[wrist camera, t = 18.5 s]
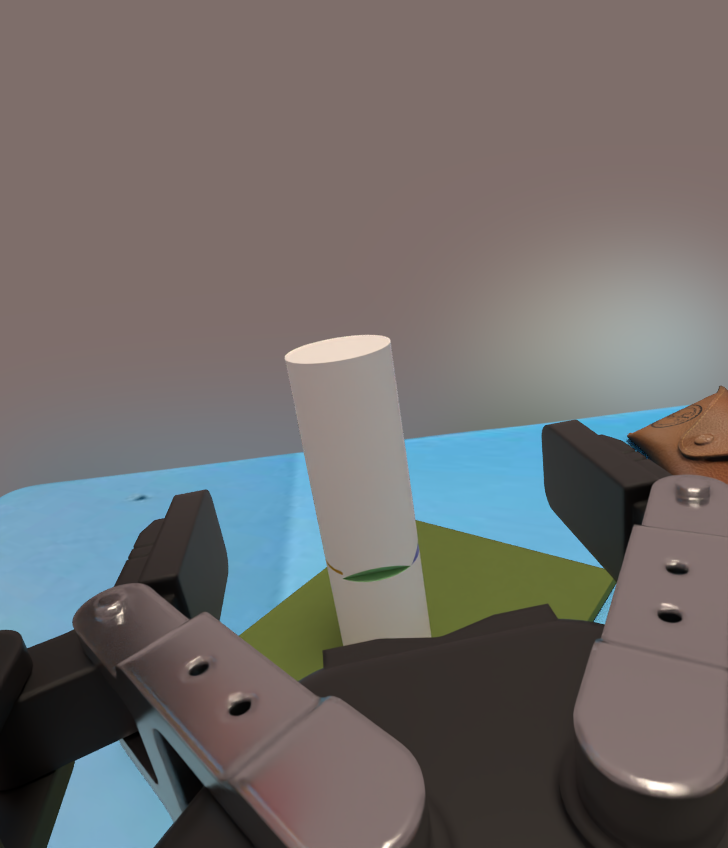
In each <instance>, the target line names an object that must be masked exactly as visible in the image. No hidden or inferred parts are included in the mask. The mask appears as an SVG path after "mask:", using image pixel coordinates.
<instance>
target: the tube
mask: <svg viewBox="0 0 728 848" xmlns="http://www.w3.org/2000/svg"><path fill="white" fill-rule="evenodd" d="M285 362H286V367H287V372H288V377H289V382H290V387H291V392H292V396H293V401H294V406H295V411H296V416H297V421H298V426H299V431H300V436H301V441H302V446H303V450H304V456H305V460H306V465H307V470H308V475H309V480H310V485H311V490H312V495H313V500H314V505H315V510H316V515H317V520H318V524H319V529H320V534H321V539H322V544H323V549H324V554H325V558H326V563H327V568H328V573H329V578H330V583H331V588H332V593H333V598H334V603H335V607H336V612H337V617H338V622H339V627H340V632H341V637H342V642H343V646H346V645H350V644H355V643H360V642H365V641H370V640H374V639H383V638H426V637H431V630H430V623H429V616H428V609H427V602H426V594H425V587H424V580H423V573H422V565H421V558H420V551H419V545H418V535H417V528H416V521H415V514H414V507H413V499H412V492H411V485H410V478H409V471H408V464H407V457H406V449H405V442H404V435H403V428H402V421H401V414H400V407H399V400H398V393H397V386H396V378H395V371H394V364H393V357H392V350H391V343H390V339H389V338H387V337H384V336H379V335H356V336H347V337H339V338H333V339H328V340H323V341H319V342H315V343H311V344H308V345H305V346H302V347H299V348H297V349H294V350H292V351H291V352H289V353H288V354H286V356H285Z"/></svg>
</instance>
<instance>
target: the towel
mask: <svg viewBox="0 0 728 848" xmlns="http://www.w3.org/2000/svg"><path fill="white" fill-rule="evenodd" d="M415 521H416V528H417V535H418V545H419V551H420V558H421V565H422V573H423V580H424V587H425V594H426V602H427V609H428V616H429V623H430V630H431V637H440V636H444V635H446V634H449V633H451V632H454V631H456V630H458V629H461V628H463V627H465V626H468V625H470V624H473V623H475V622H477V621H480V620H482V619H484V618H487V617H489V616H492V615H494V614H499V613H504V612H509V611H514V610H518V609H523V608H528V607H533V606H538V605H543V604H547V603H548V604H549V606H550V607H551V609H552V610H553V612H554V613H555V615H556V616H557V618H558V619H574V620H584V621H590V622H593V620H594V619H595V617H596V616H597V614H598V612H599V611H600V609H601V607H602V606H603V604H604V602H605V601H606V599H607V597H608V596H609V594H610V592H611V591H612V589H613V587H614V586H615V584H616V583H617V582H616V581H615V580H614V579H613V578H612V576H611V575H610V574H609V573H608V572H607V571H606V570H605V569H603V568H599V567H595V566H591V565H587V564H584V563H580V562H576V561H572V560H568V559H564V558H560V557H557V556H553V555H549V554H545V553H541V552H537V551H533V550H529V549H526V548H522V547H518V546H514V545H510V544H506V543H502V542H499V541H495V540H491V539H487V538H483V537H479V536H475V535H471V534H468V533H464V532H460V531H456V530H452V529H448V528H444V527H441V526H437V525H433V524H429V523H425V522H421V521H417V520H415ZM239 637H241V638H242V639H243V640H244V641H246V642H247V643H248V644H250V645H251V646H252V647H254V648H255V649H256V650H257V651H259V652H260V653H261V654H263V655H264V656H265V657H267V658H268V659H269V660H270V661H272V662H273V663H274V664H276V665H277V666H278V667H280V668H281V669H282V670H283V671H285V672H286V673H287V674H289V675H290V676H291V677H293V678H294V679H295V680H296V681H299V680H301V679H302V678H304V677H306V676H308V675H310V674H312V673H313V672H315V671H318V670H320V669H322V668H323V653H322V650H326V649H331V648H336V647H341V646H343V642H342V637H341V632H340V627H339V622H338V617H337V612H336V607H335V603H334V598H333V593H332V588H331V583H330V578H329V573H328V568H327V567H326V568H325V569H324V570H322V571H321V572H320V573H319V574H317V575H316V576H315V577H313V578H312V579H311V580H310V581H308V582H307V583H306V584H305V585H303V586H302V587H301V588H299V589H298V590H297V591H296V592H294V593H293V594H292V595H290V596H289V597H288V598H287V599H285V600H284V601H283V602H282V603H280V604H279V605H278V606H276V607H275V608H274V609H273V610H271V611H270V612H269V613H267V614H266V615H265V616H264V617H262V618H261V619H260V620H258V621H257V622H256V623H255V624H253V625H252V626H251V627H250V628H248V629H247V630H246V631H244V632H243V633H242V634H241V635H239Z"/></svg>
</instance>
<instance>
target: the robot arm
mask: <svg viewBox="0 0 728 848" xmlns="http://www.w3.org/2000/svg"><path fill="white" fill-rule="evenodd" d="M542 452H543V470H544V487H545V493H546V496H547V500H548V502H549V505H550V507H551V508H552V510H553V511H554V512H555V513H556V515H557V516H558V517H559V518H560V519H561V520H562V521H563V522H564V524H565V525H566V526H567V527H568V528H569V529H570V530H571V531H572V533H573V534H574V535H575V536H576V537H577V538H578V539H579V540H580V542H581V543H582V544H583V545H584V546H585V547H586V548H587V549H588V551H589V552H590V553H591V554H592V555H593V556H594V557H595V558H596V560H597V561H598V562H599V563H600V564H601V565H602V566H603V567H604V569H605V570H606V571H607V572H608V573H609V574H610V575H611V576H612V578H613V579H614V580H615V581H616V582H617V584H616V588H615V591H614V595H613V598H612V602H611V605H610V609H609V612H608V616H607V619H606V623H605V625H604V624H600V623H596V622H590V621H584V620H574V619H558V618H557V616H556V615H555V613H554V612H553V610H552V609H551V607H550V606H549V604H548V603H547V604H543V605H538V606H533V607H528V608H523V609H518V610H514V611H509V612H504V613H499V614H494V615H492V616H489V617H487V618H484V619H482V620H480V621H477V622H475V623H473V624H470V625H468V626H465V627H463V628H461V629H458V630H456V631H454V632H451V633H449V634H446V635H444V636H440V637H426V638H383V639H374V640H370V641H365V642H360V643H355V644H350V645H346V646H341V647H336V648H331V649H326V650H322V653H323V668H322V669H320V670H318V671H315V672H313V673H312V674H310V675H308V676H306V677H304V678H302V679H301V680H299V681H296V680H295V679H294V678H293V677H291V676H290V675H289V674H287V673H286V672H285V671H283V670H282V669H281V668H280V667H278V666H277V665H276V664H274V663H273V662H272V661H270V660H269V659H268V658H267V657H265V656H264V655H263V654H261V653H260V652H259V651H257V650H256V649H255V648H254V647H252V646H251V645H250V644H248V643H247V642H246V641H244V640H243V639H242V638H241V637H239V636H238V635H237V634H235V633H234V632H233V631H231V630H230V629H229V628H228V627H226V626H225V625H224V624H222V623H221V622H220V616H221V610H222V605H223V599H224V594H225V588H226V583H227V577H228V558H227V552H226V548H225V544H224V540H223V537H222V533H221V529H220V526H219V522H218V518H217V515H216V511H215V508H214V504H213V501H212V497H211V495H210V493H209V491H208V490H201V491H196V492H191V493H185V494H180V495H175V496H174V498H173V500H172V502H171V504H170V507H169V509H168V511H167V514H166V516H165V518H163V519H158V520H154V521H153V522H152V523H151V524H150V525H149V526H148V527H146V528H145V529H144V530H143V531H142V532H141V533H140V534H139V536H138V538H137V540H136V542H135V545H134V549H132V551H131V553H130V555H129V557H128V559H129V560H127V561H126V563H125V565H124V567H123V569H122V571H121V573H120V575H119V577H118V579H117V581H116V584H115V586H114V587H113V588H110V589H107V590H105V591H103V592H101V593H99V594H97V595H96V596H94V597H92V598H91V599H89V600H88V601H87V602H86V603H84V604H83V605H82V606H81V607H80V608H79V609H78V611H77V612H76V613H75V615H74V617H73V621H72V623H73V627H74V630H72V631H70V632H68V633H65V634H63V635H61V636H58V637H55V638H53V639H50V640H48V641H45V642H43V643H40V644H37V645H35V646H32V647H30V648H26V645H25V643H24V641H23V639H22V636H21V635H20V634H19V633H18V632H16V631H13V630H0V848H47V845H48V842H49V839H50V836H51V833H52V830H53V827H54V824H55V821H56V818H57V815H58V812H59V809H60V806H61V803H62V800H63V797H64V795H65V792H66V789H67V786H68V783H69V780H70V777H71V774H72V771H73V767H74V763H75V760H77V759H80V758H82V757H84V756H86V755H88V754H90V753H92V752H94V751H97V750H99V749H101V748H103V747H105V746H107V745H109V744H112V743H114V742H116V741H118V740H119V741H120V744H121V746H122V747H123V749H124V750H125V752H126V753H127V754H128V756H129V757H130V759H131V760H132V761H133V763H134V764H135V766H136V767H137V768H138V770H139V771H140V772H141V774H142V775H143V777H144V778H145V779H146V781H147V782H148V784H149V785H150V786H151V788H152V789H153V791H154V792H155V793H156V795H157V796H158V798H159V799H160V800H161V802H162V803H163V805H164V806H165V808H166V809H167V811H168V813H169V815H170V816H171V818H172V820H173V822H174V823H173V824H172V826H171V827H170V828H169V829H168V831H167V832H166V833H165V834H164V836H163V837H162V838H161V839H160V840H159V842H158V843H157V844H156V845H155V847H154V848H728V485H727V484H726V483H724V482H722V481H720V480H717V479H714V478H710V477H706V476H700V475H672V474H670V473H669V472H667V471H666V470H664V469H663V468H661V467H660V466H658V465H657V464H656V463H654V462H653V461H651V460H650V459H646V457H645V456H644V455H642V454H641V453H639V452H638V451H637V452H635V449H633V448H632V447H630V446H629V445H627V444H626V443H624V442H623V441H621V440H618V439H615V438H612V437H608V436H605V435H597V434H596V433H595V432H593V431H592V430H590V429H589V428H588V427H586V426H585V425H583V424H582V423H581V422H579V421H578V420H571V421H565V422H560V423H555V424H550V425H545V426H544V427H543V430H542Z"/></svg>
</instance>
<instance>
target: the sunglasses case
mask: <svg viewBox="0 0 728 848" xmlns="http://www.w3.org/2000/svg"><path fill="white" fill-rule="evenodd" d="M627 437H628V438H629V439H630V440H631V441H632V442H634V443H635V444H636V445H637V446H638V447H639V448H640V449H642V450H643V451H644V452H645V454H646V455H647V456H648V457H649V458H650V459H651V460H652V461H653V462H654V463H656V464H657V465H658V466H660V467H661V468H663V469H664V470H666V471H667V472H669V473H670V474H672V475H700V476H706V477H710V478H714V479H717V480H720V481H722V482H724V483H726V484H727V485H728V390H727V389H726V388H725V387H723V386H719V389H718V392H717V393H716V394H713V395H711V396H709V397H706V398H704V399H703V400H701V401H698V402H696V403H694V404H692V405H690V406H688V407H686V408H684V409H681V410H679V411H677V412H675V413H673V414H671V415H669V416H667V417H665V418H662V419H661V420H658V421H656V422H654V423H652V424H650V425H648V426H647V427H645V428H642V429H641V430H638V431H636V432H634V433H629V434H628V435H627Z"/></svg>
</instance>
